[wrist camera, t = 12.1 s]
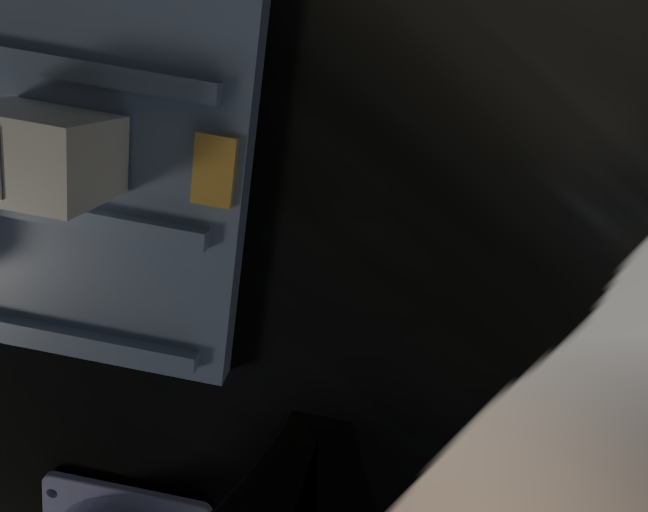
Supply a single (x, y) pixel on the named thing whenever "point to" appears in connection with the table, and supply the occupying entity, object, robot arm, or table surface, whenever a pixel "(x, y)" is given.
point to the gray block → (60, 158)
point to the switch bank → (139, 181)
